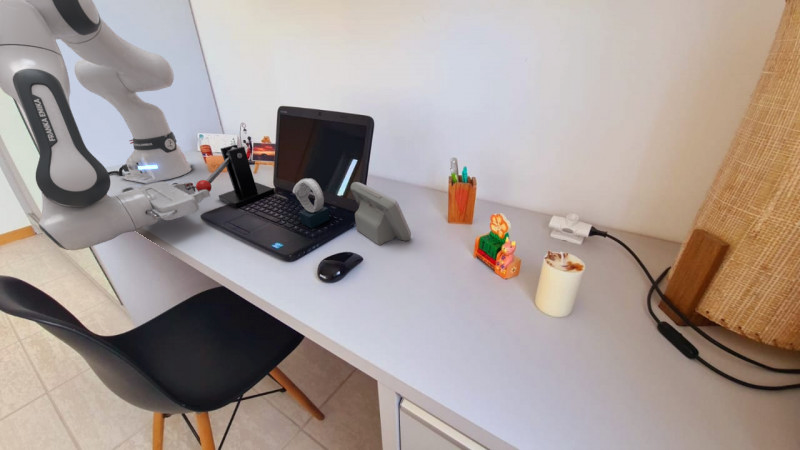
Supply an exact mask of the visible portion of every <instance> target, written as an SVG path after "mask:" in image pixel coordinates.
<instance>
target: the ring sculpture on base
mask: <svg viewBox="0 0 800 450" xmlns="http://www.w3.org/2000/svg"><path fill="white" fill-rule="evenodd" d="M310 192H312V193H313V195H314V201H313V202H314V203H312V202H311V201H310V198H309V196H310ZM292 194H293V195H295V197H296V199H297V200H298V201H299V202H300V204H301V206H302V207H303V208H304V209H303V210H301V211H299V212H298V214H299V219H300V223H301V225H304V226H305V227H307V228H310V229H314V228H316V227H318V226H320V225H322V224H324V223H326V222H328V221H330V220H331V217H330V211H329V208H328V207H326V206H324V204H325V197H324V193H323V191H322V188H321V186H320V185H319V183H318V182H317V181H316V179H313V178H311V177H310V178H302V179H300V180H299V181H298V182H296V184H295V185H294V186H293V189H292Z"/></svg>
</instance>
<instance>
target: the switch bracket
mask: <svg viewBox="0 0 800 450" xmlns="http://www.w3.org/2000/svg"><path fill="white" fill-rule="evenodd" d="M232 147H234V148H235V149H232V150H230V149H231V148H232ZM220 152H221V155H222V158H223V162H224V161H225V160H226V159H227V158H228V156H227V155H226V153H227V152H228V154H229V158H230V161H231V162H230V163H229V164H228V165H227V166H226V167H225V168H226V170H227V174H228V176H229V179H230V182H231V185H232V188H233V190H231V191H227V192H225V193H222V194H219V195H218V199H219V201H220V202H222V203H224V204H227V205H229V206H231V207H234V208H235V209H239V208H241V207H244V206H247V205H249V204H252V203H253V202H257V201H259V200H261V199H263V198H267V197H270V196H272V195H273V194H275V193H276V192H275V189H274V188H273V187H271V186H267V185H265V184H262V183H259V182H257V181H255V179H254V175H253V171H252V168H251V165H250V161H249V158H248V154H247V151H246V148H245V146H239V147H238V145H237V144H232V145H228V146H224V147H221V148H220Z"/></svg>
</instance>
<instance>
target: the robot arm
mask: <svg viewBox="0 0 800 450" xmlns="http://www.w3.org/2000/svg"><path fill="white" fill-rule="evenodd" d="M58 40H60V41H62V43H64V44H65V45H66V46H67V47H68V48H69V49H71V50H72V51H73V52H74V53H75V54H76V55H77V56H78V57H80V59H78V60H77V61H76V62H75V64H74V74H75V77H76V79H77V81H78V83H80V85H81V86H82V87H83V88H85V89H86V91H89V92H90V93H93V94H95V95H97V96H99V97H101V98H102V99H103V100H105V101H107V102H108V103H109V104H110V105H111V106H112V107H114V108H115V110H116V111H117V112H118V113H119V114H120V115H121V117H122V119H123V121H124V122H125V123H126V124H125V125H127V128H128V129H129V132H130V134H131V135H132V137H133V138H132V139H129V140H128V142H129V144H130V145H133V146H132V147H133V149H134V150H133V151H132V153H131V154H130V155H129V157H128V158H127V160H126V162H125V164H123V165H121V167H120V168H119V169H118V170H111V171H108V170H107V168H106V167H105V166H104V165H103V164H102V163H101V161H100V160H98V159H97V158H96V156H94V155H93V154H92V152H90V150H89V149H88V148H87V146H86V144H85V142H84V139H83V137H82V134H81V132H80V130H79V126H78V124H77V123H76V119H75V117H74V114H73V112H72V109H71V105H70V95H71V83H70V77H69V73H68V68H67V66H66V62H65V59H64V57H63V54H62V51H61V49H60V47H59V45H58V43H57V41H58ZM174 78H175V74H174V70H173V68H172V66H171V65H170V62H169V61H168V60H167V59H165V58H164V57H163V56H162V55H161V54H158V53H153V52H150V51H147V50H145V49H142V48H140V47H138V46H136V45H134V44H132V43H130V42H128V41H127V40H126V39H124V38H122V37H120V36H119V35H118V34H117V33H116V32H115V31H114V30H113V29H112V28H111V27H110V26H109V25H108V24H107V23H106V22H105V21H104V20H103V19H102V17H101V16H100V13H99V10H98V8H97V6H96V4H95V2H94V0H0V89H1V90H2V92H3V93H4V94H6V95H7V96H9V97H11V98H13V99H14V100H15V101H16V102H17V104H18V105H19V106H20V108H21V109H22V111H23V112H24V114H25V117H26V119H27V122H28V124H29V127H30V129H31V132H32V134H33V137H34V139H35V143H36V145H37V147H38V152H39V153H38V154H39V159H38V162H37V165H36V169H35V182H36V185H37V187H38V189H39V191H40V192H41V200H42V201H41V203H42V205H41V216H40V220H39V222H38V227H39V229H40V231H42V232H43V233H44V235H45V236H46V237H48V239H49V240H51V241H52V242H53V243H54V244H55V245H57V247H58V248H61V249H64V250H66V251H79V250H84V249H88V248H92V247H94V246H98V245H100V244H103V243H107V242H109V241H112V240H114V239H116V238H117V237H118V236H120V235H123V234H125V233H132V232H135V231H138V230H141V229H144V228H146V227H149V226H152V225H154V224H155V225H156V224H157V223H158V222H159V219H161V220H164V221H172V220H175V219H179V218H182V217H185V216H189V215H191V214H194V213H196V212H197V211H199V210H200V208H199V205H198V204H199V203H200V202H202V201H203V200H204V199H207V198H208V197H211V193H210V192H209V191H208V190H206V189H203V190H200V191H199V192H198V191H197V192H196V193H194V194H191V195H189V194H187V193H185V192H183V191H184V190H191V189H194V186H195V185H194V183H193V182H192V181H186V182H182V183H178V184H173V183H172V184H173V185H172V184H170V183H168V182H166V181H167V180H172V179H174V178H175V179H176V178H179V177H181V176H184V175H186V174H188V173H190V172H191V171H192V164H191V162H188V160H187V158H186V156H185V154H184V152H183V150H182V149H181V147H180V145H179V144H177V139H176V135H175V134H174V132H173V131H172V130H171V127H170V125H169V122H168V120H167V117H166V115H165V113H164V111H163V110H162V108H160V107H159V106H157V105H155V104H152V103H150V102H147V101H144V100H143V99H142V98H141V97H140V96H139V95H138V94H137V93H145V92H155V91H160V90H163V89H166V88H169V87H171V86H172V85H173V83H174V80H175V79H174ZM123 172H126V174H124V175H123ZM115 174H117V175H118V176H122V177H123V180H126V181H131V182H136V183H141V184H143V185H138V186H136V187H132V186H128V187H125V188H122V189H121V191H120V193H119V194H115V195H111V196H110V195H109V194H108V192H109V191H110V188H111V177H110V175H115Z"/></svg>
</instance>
